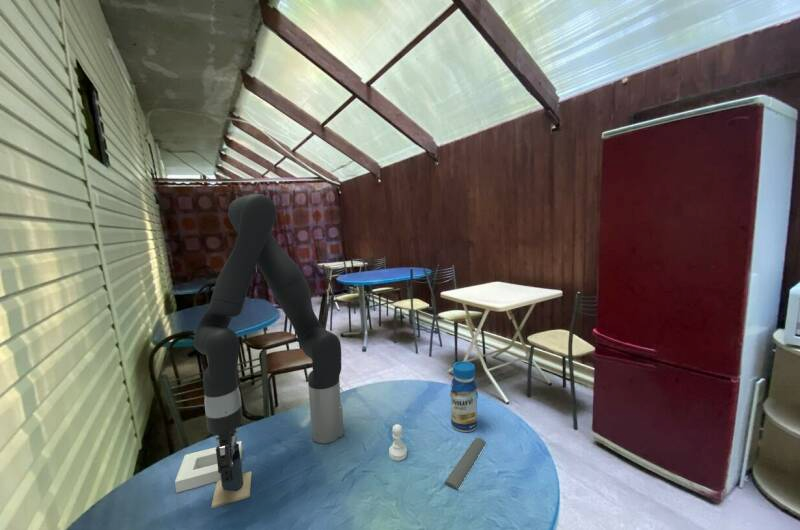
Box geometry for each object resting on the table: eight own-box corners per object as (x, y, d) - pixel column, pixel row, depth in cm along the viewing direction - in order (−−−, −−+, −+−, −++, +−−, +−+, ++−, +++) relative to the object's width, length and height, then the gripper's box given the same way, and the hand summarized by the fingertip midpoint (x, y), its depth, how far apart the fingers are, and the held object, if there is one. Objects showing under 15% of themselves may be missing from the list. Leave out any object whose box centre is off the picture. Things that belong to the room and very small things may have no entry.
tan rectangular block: (251, 473, 85) (251, 471, 85) (249, 497, 78) (249, 494, 78) (217, 482, 82) (217, 480, 82) (211, 508, 75) (211, 506, 75)
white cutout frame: (242, 450, 94) (241, 440, 93) (239, 475, 84) (238, 464, 84) (186, 464, 89) (185, 454, 88) (176, 492, 80) (174, 482, 79)
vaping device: (239, 492, 78) (234, 447, 77) (219, 489, 79) (214, 445, 78) (245, 483, 81) (241, 440, 79) (226, 481, 82) (221, 438, 80)
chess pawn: (405, 462, 87) (404, 432, 86) (387, 460, 88) (386, 430, 87) (408, 449, 92) (407, 420, 91) (391, 447, 93) (390, 418, 92)
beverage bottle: (481, 421, 104) (481, 363, 101) (472, 436, 97) (472, 374, 94) (456, 413, 108) (456, 357, 106) (446, 427, 101) (445, 367, 98)
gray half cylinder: (487, 446, 93) (487, 440, 93) (458, 493, 78) (458, 487, 78) (473, 440, 96) (473, 435, 96) (442, 485, 80) (442, 479, 80)
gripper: (238, 420, 72) (245, 485, 74) (243, 389, 85) (249, 445, 87) (199, 428, 69) (207, 496, 71) (211, 395, 82) (217, 453, 84)
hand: (230, 468), depth 79 cm, fingers open, 8 cm apart
